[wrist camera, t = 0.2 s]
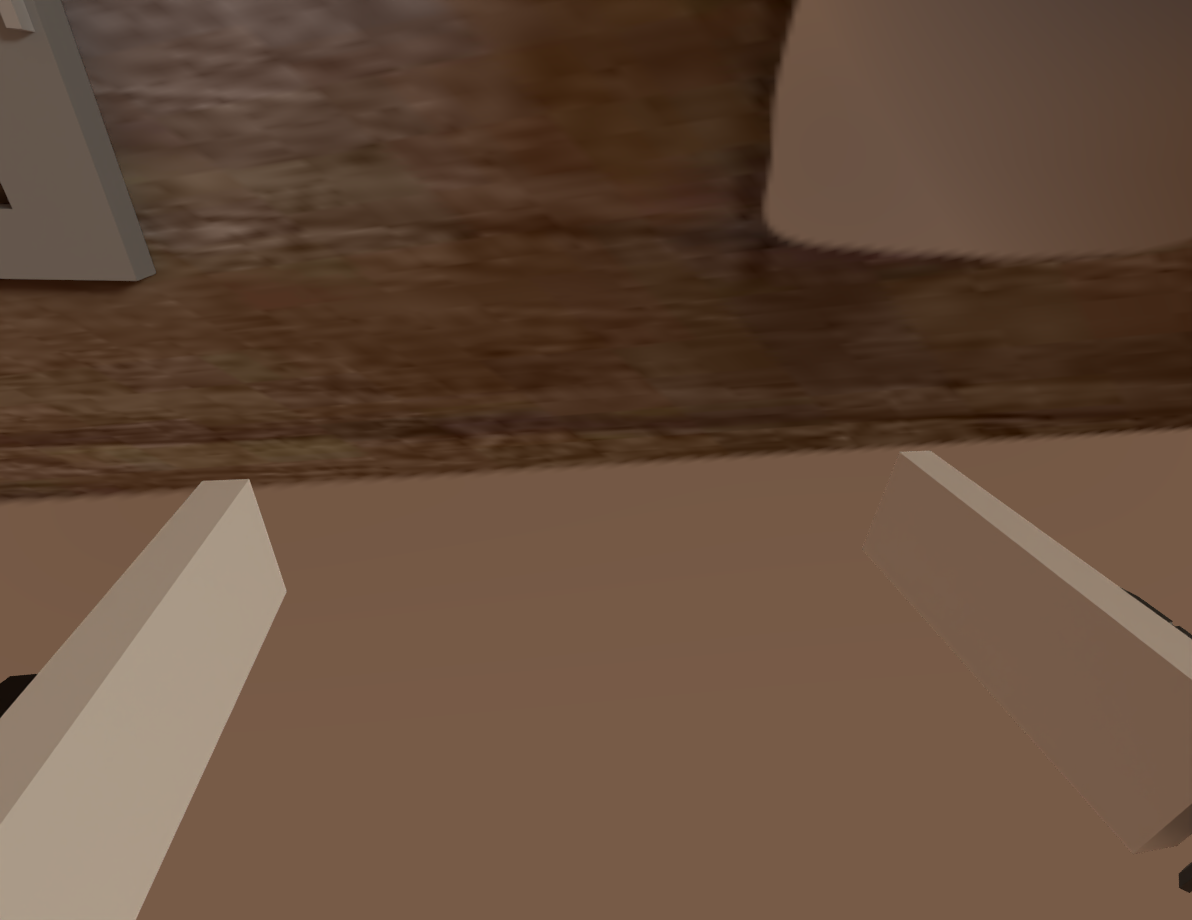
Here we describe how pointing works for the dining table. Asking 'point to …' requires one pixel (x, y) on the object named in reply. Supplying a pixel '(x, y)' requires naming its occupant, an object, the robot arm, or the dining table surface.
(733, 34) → the dining table surface
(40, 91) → the housing plate
